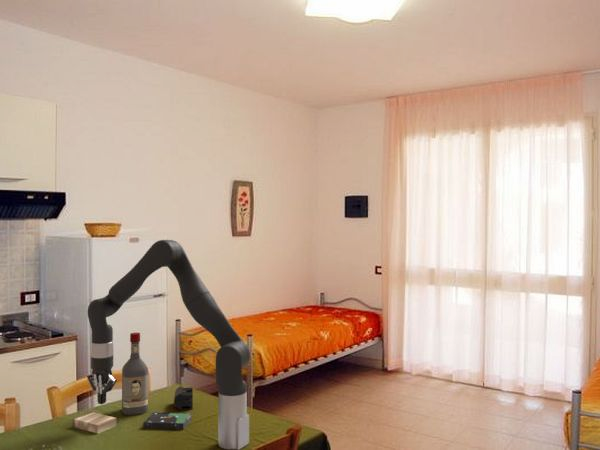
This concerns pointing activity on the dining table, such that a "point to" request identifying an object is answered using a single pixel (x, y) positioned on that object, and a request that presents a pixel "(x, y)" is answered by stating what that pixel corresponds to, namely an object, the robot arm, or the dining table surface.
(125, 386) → the liquor
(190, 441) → the dining table surface
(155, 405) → the dining table surface
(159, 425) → the disk drive
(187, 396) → the end cap
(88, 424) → the birch tile
